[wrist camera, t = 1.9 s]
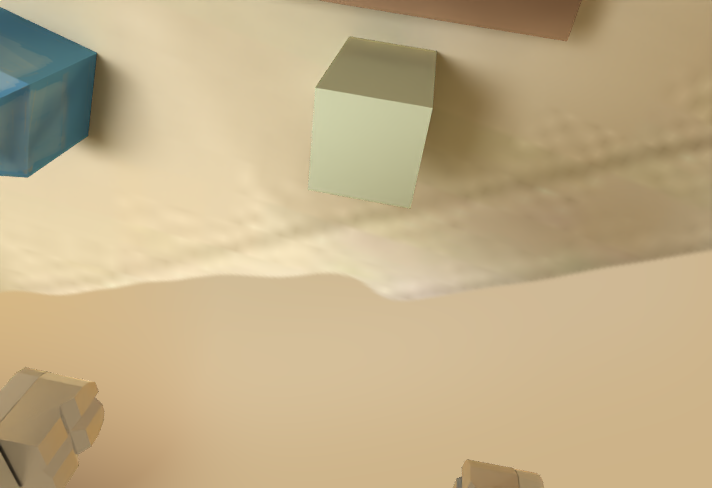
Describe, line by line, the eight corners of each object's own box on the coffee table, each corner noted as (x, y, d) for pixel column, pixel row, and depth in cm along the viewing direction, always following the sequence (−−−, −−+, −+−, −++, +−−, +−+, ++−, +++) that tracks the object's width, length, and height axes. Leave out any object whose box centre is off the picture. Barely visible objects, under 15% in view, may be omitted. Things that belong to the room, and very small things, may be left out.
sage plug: (349, 36, 28) (315, 87, 21) (436, 51, 28) (432, 107, 21) (340, 119, 31) (307, 189, 24) (419, 133, 31) (410, 208, 24)
